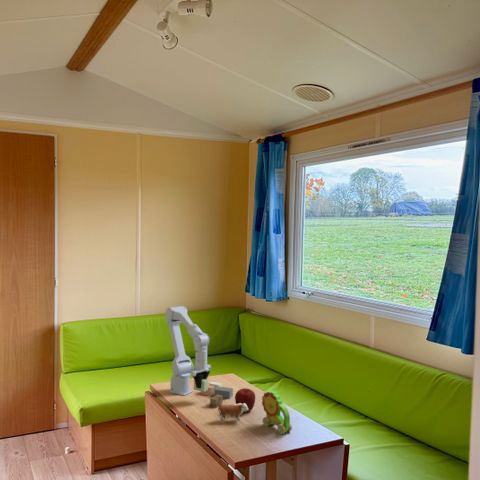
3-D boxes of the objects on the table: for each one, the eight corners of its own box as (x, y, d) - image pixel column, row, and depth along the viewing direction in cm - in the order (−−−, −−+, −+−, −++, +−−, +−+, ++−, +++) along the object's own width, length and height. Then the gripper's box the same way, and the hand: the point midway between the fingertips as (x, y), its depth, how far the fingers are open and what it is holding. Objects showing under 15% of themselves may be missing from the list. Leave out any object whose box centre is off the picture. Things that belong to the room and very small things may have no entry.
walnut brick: (216, 408, 234) (216, 399, 234) (210, 406, 235) (210, 398, 235) (222, 404, 239) (222, 395, 239) (216, 402, 241) (216, 394, 241)
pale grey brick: (208, 390, 257) (208, 383, 257) (212, 388, 260) (212, 381, 260) (218, 392, 254) (218, 385, 254) (221, 390, 257) (222, 383, 257)
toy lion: (292, 432, 208) (293, 396, 207) (282, 435, 205) (283, 399, 204) (267, 420, 221) (268, 386, 220) (258, 422, 217) (259, 388, 217)
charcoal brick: (214, 397, 248) (214, 389, 248) (217, 394, 253) (217, 386, 253) (229, 399, 246) (229, 391, 246) (232, 396, 250) (232, 388, 250)
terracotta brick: (200, 393, 253) (200, 386, 252) (204, 391, 256) (204, 384, 255) (210, 396, 250) (210, 388, 250) (214, 394, 253) (214, 386, 253)
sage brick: (193, 389, 241) (193, 379, 241) (197, 387, 244) (197, 377, 244) (204, 391, 238) (204, 381, 238) (207, 389, 241) (208, 379, 241)
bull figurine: (248, 423, 217) (248, 404, 216) (217, 422, 217) (218, 404, 217) (248, 419, 221) (248, 401, 221) (218, 418, 221) (218, 400, 221)
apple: (235, 414, 226) (236, 393, 225) (234, 406, 235) (234, 386, 235) (256, 414, 227) (256, 392, 226) (253, 406, 236) (254, 385, 236)
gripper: (200, 364, 232) (199, 392, 233) (216, 356, 245) (215, 383, 246) (187, 361, 236) (187, 389, 236) (204, 354, 249) (203, 381, 249)
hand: (200, 386), depth 241 cm, fingers closed on sage brick, 3 cm apart
